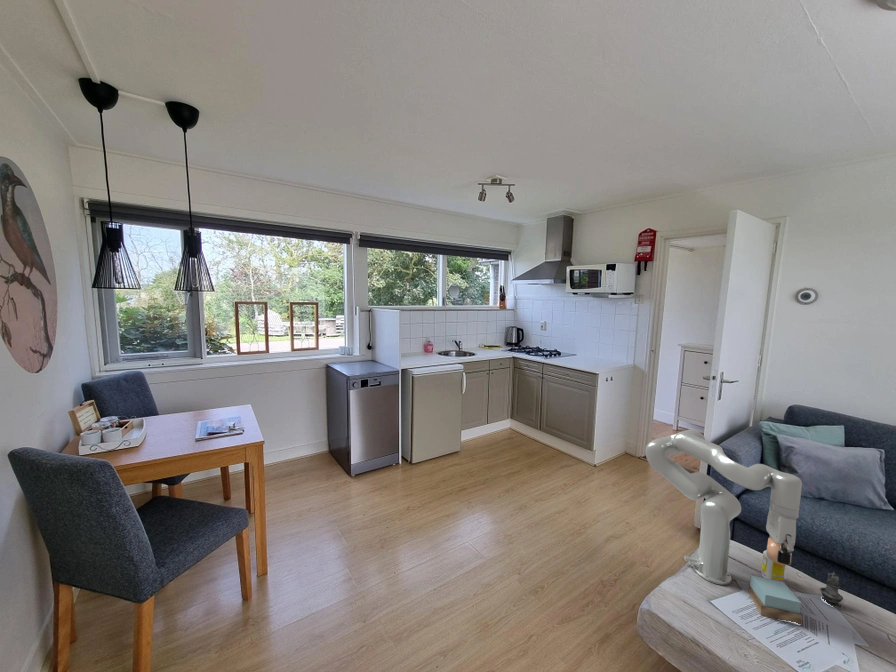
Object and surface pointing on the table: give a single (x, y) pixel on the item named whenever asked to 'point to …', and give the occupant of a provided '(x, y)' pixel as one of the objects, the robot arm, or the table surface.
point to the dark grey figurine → (832, 591)
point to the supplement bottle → (772, 569)
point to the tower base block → (774, 610)
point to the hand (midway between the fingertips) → (778, 556)
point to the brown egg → (774, 550)
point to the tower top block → (775, 594)
